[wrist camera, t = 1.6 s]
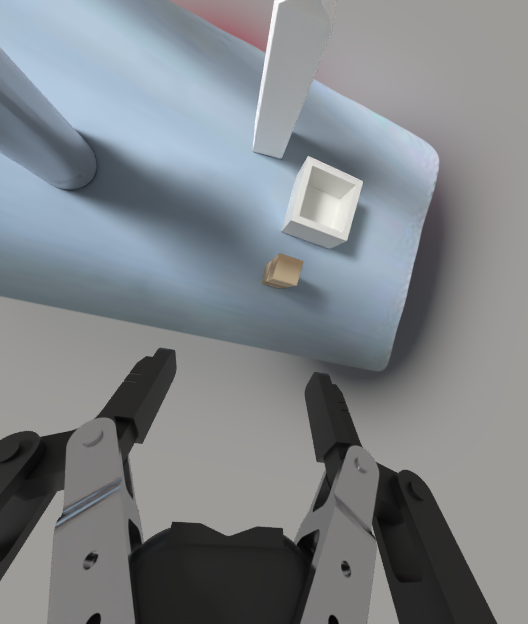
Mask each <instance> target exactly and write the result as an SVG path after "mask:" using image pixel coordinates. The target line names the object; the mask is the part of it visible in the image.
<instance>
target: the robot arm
mask: <svg viewBox="0 0 528 624" xmlns="http://www.w3.org/2000/svg"><path fill="white" fill-rule="evenodd" d="M0 153H2V154H4V155H5V156H7V157H8V158H10V159H11V160H13V161H15V162H16V163H18V164H19V165H21V166H22V167H24V168H25V169H27V170H29V171H30V172H32V173H33V174H35V175H36V176H38V177H40V178H41V179H43V180H44V181H46V182H48V183H49V184H51V185H53V186H55V187H58V188H62V189H78V188H81V187H84V186H85V185H87V184H88V183H89V182H90V181H91V180H92V179H93V177H94V175H95V173H96V168H97V165H96V158H95V155H94V153H93V151H92V149H91V148H90V146H89V145H88V144H87V143H86V141H85V140H84V139H83V138H82V137H81V136H80V135H79V134H78V133H77V131H76V130H75V129H74V128H73V127H72V126H71V125H70V124H69V123H68V121H67V120H66V119H65V118H64V117H63V116H62V115H61V114H60V113H59V112H58V110H57V109H56V108H55V107H54V106H53V105H52V104H51V103H50V102H49V101H48V99H47V98H46V97H45V96H44V95H43V94H42V93H41V92H40V91H39V90H38V89H37V87H36V86H35V85H34V84H33V83H32V82H31V81H30V80H29V79H28V78H27V76H26V75H25V74H24V73H23V72H22V71H21V70H20V69H19V68H18V67H17V65H16V64H15V63H14V62H13V61H12V60H11V59H10V58H9V57H8V56H7V54H6V53H5V52H4V51H3V50H2V49H1V48H0ZM175 355H176V354H175V350H172V349H165V348H159V349H158V350H157V351H156V353H155V355H154V356H153V357H148V356H146V357H145V358H143V359H142V360H140V361H139V362H138V363H137V364H136V365H135V366H134V368H133V369H132V370H131V372H130V374H129V375H128V376H127V377H126V378H125V380H124V382H122V384H121V385H120V387H119V388H118V389H117V391H116V392H115V394H114V395H113V396H112V397H111V399H110V400H109V402H108V403H107V404H106V406H105V407H104V409H103V410H102V411H101V412H100V414H99V415H98V416H97V417H96V418H94V419H93V420H91V421H89V422H87V423H85V424H83V425H82V426H81V427H79V428H78V429H75V430H72V431H68V432H63V433H58V434H53V435H48V436H43V437H40V436H39V435H38V434H37V433H35V432H33V431H23V432H18V433H15V434H12V435H9V436H7V437H5V438H3V439H2V440H0V580H1V579H2V577H3V576H4V574H5V573H6V571H7V569H8V568H9V566H10V565H11V563H12V562H13V560H14V559H15V557H16V555H17V554H18V552H19V551H20V549H21V547H22V546H23V544H24V543H25V541H26V540H27V538H28V536H29V535H30V533H31V532H32V530H33V529H34V527H35V525H36V524H37V522H38V521H39V519H40V517H41V516H42V514H43V513H44V511H45V510H46V508H47V507H48V505H49V503H50V502H51V500H52V499H53V497H54V495H55V494H56V492H57V491H60V490H64V507H63V513H62V515H61V517H60V518H59V519H58V520H57V523H56V526H55V530H54V536H53V549H52V563H51V577H50V592H49V607H48V621H47V624H367V620H368V613H369V605H370V597H371V590H372V582H373V574H374V567H375V559H376V550H377V548H376V547H377V546H376V541H377V544H378V548H379V552H380V555H381V558H382V562H383V566H384V570H385V573H386V577H387V581H388V584H389V588H390V591H391V595H392V599H393V603H394V606H395V609H396V613H397V617H398V621H399V624H497V622H496V620H495V618H494V616H493V614H492V612H491V610H490V608H489V606H488V604H487V602H486V600H485V598H484V596H483V594H482V592H481V590H480V588H479V586H478V585H477V582H476V580H475V578H474V576H473V574H472V572H471V570H470V568H469V566H468V564H467V563H466V560H465V558H464V556H463V554H462V553H461V551H460V548H459V546H458V545H457V543H456V540H455V538H454V537H453V534H452V532H451V531H450V528H449V526H448V524H447V522H446V520H445V518H444V516H443V514H442V512H441V511H440V509H439V507H438V505H437V502H436V500H435V498H434V496H433V495H432V493H431V491H430V489H429V488H428V486H427V485H426V483H425V482H424V481H423V480H422V479H421V478H420V477H419V476H418V475H416V474H415V473H413V472H411V471H409V470H402V471H401V472H399V473H397V472H394V471H393V470H390V469H389V468H386V467H385V466H383V465H381V464H379V463H377V462H375V460H374V458H373V457H372V456H371V454H370V453H369V452H367V450H365V449H364V448H363V447H362V445H361V443H360V440H359V438H358V435H357V432H356V430H355V427H354V424H353V421H352V418H351V416H350V413H349V412H348V411H349V410H348V407H347V405H346V402H345V399H344V397H343V394H342V392H341V391H340V389H339V388H338V387H337V385H335V384H332V382H331V379H330V376H329V375H328V374H326V373H319V372H314V374H313V375H312V377H311V379H310V380H309V382H308V384H307V386H306V389H305V400H306V406H307V411H308V417H309V422H310V428H311V433H312V438H313V444H314V449H315V455H316V460H317V462H322V463H325V468H326V470H325V471H324V473H323V476H322V478H321V481H320V484H319V486H318V489H317V492H316V494H315V497H314V499H313V502H312V504H311V507H310V510H309V512H308V514H307V515H306V517H305V518H304V520H303V522H302V523H301V525H300V528H299V530H298V532H297V535H296V537H295V540H294V542H292V540H290V539H289V538H287V537H286V536H284V535H283V529H282V528H272V527H254V528H252V529H249V530H246V531H243V532H240V533H237V534H234V535H232V536H226V535H224V534H221V533H219V532H217V531H215V530H213V529H211V528H209V527H207V526H205V525H203V524H201V523H186V522H172V525H171V528H168V529H165V530H163V531H161V532H159V533H157V534H156V535H154V536H152V537H151V538H149V539H148V540H147V541H146V542H144V539H143V533H142V526H141V520H140V515H139V510H138V507H137V504H136V498H135V492H134V485H133V479H132V472H131V465H130V459H129V453H130V451H131V448H132V447H133V445H134V443H140V444H142V443H143V441H144V439H145V437H146V435H147V433H148V431H149V429H150V427H151V424H152V422H153V421H154V419H155V417H156V414H157V412H158V410H159V408H160V406H161V404H162V402H163V400H164V398H165V396H166V394H167V392H168V390H169V388H170V385H171V383H172V381H173V379H174V377H175V374H176V356H175ZM371 524H372V526H373V530H374V534H375V537H376V539H375V537H374V535H373V534H372V532H371Z"/></svg>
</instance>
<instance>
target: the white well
mask: <svg viewBox="0 0 528 624" xmlns="http://www.w3.org/2000/svg"><path fill="white" fill-rule="evenodd" d="M362 184H363V181H362V180H359V179H357V178H355V177H353V176H351V175H349V174H346V173H344V172H342V171H340V170H338V169H336V168H333V167H331V166H329V165H327V164H325V163H323V162H320V161H318V160H316V159H314V158H312V157H310V156H308V157H307V159H306V160H305V162H304V164H303V166H302V167H301V169H300V171H299V173H298V174H297V176H296V178H295V182H294V186H293V190H292V194H291V197H290V201H289V205H288V209H287V213H286V216H285V220H284V224H283V228H282V232H283V233H286V234H289V235H292V236H295V237H297V238H300V239H303V240H306V241H308V242H311V243H314V244H317V245H320V246H322V247H325V248H328V249H331V248H333V247H335V246H338V245H340V244H342V243H344V242H346V241H347V239H348V235H349V232H350V228H351V224H352V221H353V217H354V213H355V210H356V206H357V202H358V199H359V195H360V191H361V188H362Z"/></svg>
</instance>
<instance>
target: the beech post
mask: <svg viewBox="0 0 528 624" xmlns="http://www.w3.org/2000/svg"><path fill="white" fill-rule="evenodd" d="M302 265H303V261H301V260H298V259H295V258H292V257H289V256H286V255H283V254H279V255H277V256H276V257H275V258H274V259H273V260H271V261H270V262H269V263H268V264H267V265H266V269H265V272H264V276H263V280H262V284H266V285H269V286H273V287H276V288H286V287H292V286H297V283H298V280H299V276H300V272H301V268H302Z"/></svg>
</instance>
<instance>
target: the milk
mask: <svg viewBox="0 0 528 624" xmlns="http://www.w3.org/2000/svg"><path fill="white" fill-rule="evenodd" d="M336 3H337V0H274V7H273V13H272V20H271V25H270V32H269V38H268V44H267V50H266V57H265V63H264V69H263V75H262V82H261V88H260V94H259V100H258V107H257V113H256V119H255V130H254V141H253V152H257V153H261V154H265V155H269V156H272V157H276V158H280V159H282V157H283V154H284V152H285V149H286V147H287V144H288V142H289V139H290V137H291V134H292V132H293V129H294V126H295V124H296V121H297V119H298V116H299V114H300V111H301V109H302V106H303V104H304V101H305V99H306V96H307V94H308V91H309V89H310V86H311V83H312V81H313V78H314V76H315V73H316V71H317V68H318V66H319V63H320V61H321V58H322V55H323V53H324V51H325V48H326V45H327V43H328V40H329V38H330V35H331V33H332V30H333V28H334V20H335V11H336Z"/></svg>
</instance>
